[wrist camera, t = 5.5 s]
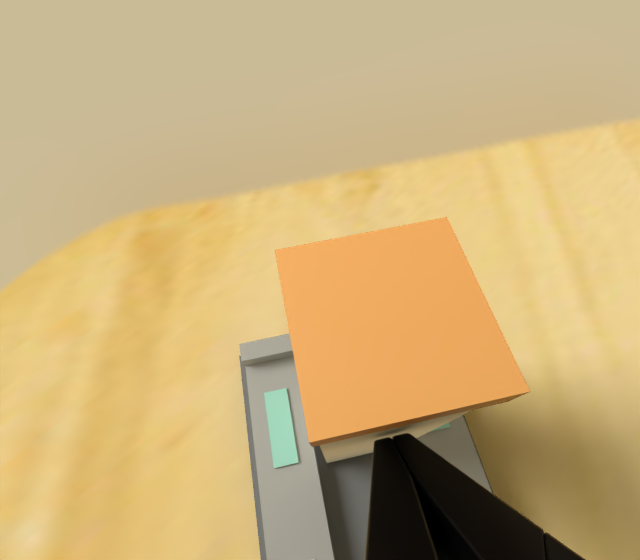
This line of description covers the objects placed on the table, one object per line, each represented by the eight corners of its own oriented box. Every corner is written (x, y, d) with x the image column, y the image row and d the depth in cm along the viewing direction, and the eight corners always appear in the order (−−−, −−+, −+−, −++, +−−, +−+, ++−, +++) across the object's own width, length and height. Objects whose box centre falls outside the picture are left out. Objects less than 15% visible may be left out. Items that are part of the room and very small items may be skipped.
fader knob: (403, 447, 16) (530, 391, 6) (325, 466, 15) (309, 442, 5) (380, 370, 17) (446, 216, 7) (309, 385, 17) (274, 250, 7)
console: (571, 715, 12) (620, 765, 10) (289, 800, 12) (280, 871, 9) (423, 320, 19) (434, 301, 17) (242, 359, 19) (230, 343, 16)
